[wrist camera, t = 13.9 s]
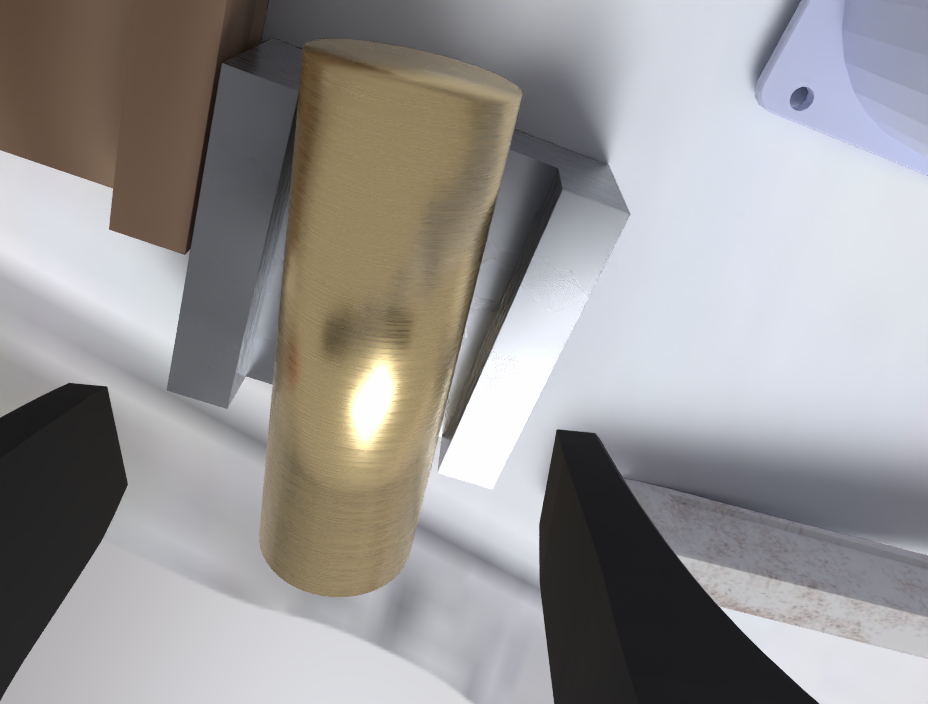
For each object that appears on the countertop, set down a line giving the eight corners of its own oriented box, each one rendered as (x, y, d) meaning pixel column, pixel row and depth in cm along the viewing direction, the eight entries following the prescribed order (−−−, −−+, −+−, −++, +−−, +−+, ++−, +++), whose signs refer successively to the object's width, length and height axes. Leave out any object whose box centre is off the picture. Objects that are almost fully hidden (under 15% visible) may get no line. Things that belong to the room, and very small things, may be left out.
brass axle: (338, 29, 15) (269, 57, 11) (527, 76, 15) (515, 118, 11) (288, 469, 21) (234, 574, 17) (422, 502, 21) (394, 614, 17)
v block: (608, 165, 18) (630, 214, 15) (493, 411, 22) (492, 489, 19) (272, 37, 17) (222, 62, 14) (215, 322, 21) (166, 390, 18)
